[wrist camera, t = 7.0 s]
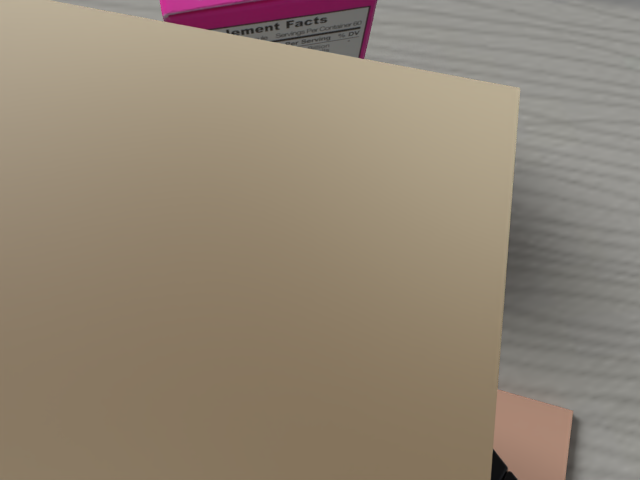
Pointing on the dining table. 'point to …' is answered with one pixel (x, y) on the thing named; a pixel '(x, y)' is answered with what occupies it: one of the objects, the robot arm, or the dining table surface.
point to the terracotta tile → (532, 437)
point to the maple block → (244, 256)
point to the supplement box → (282, 21)
